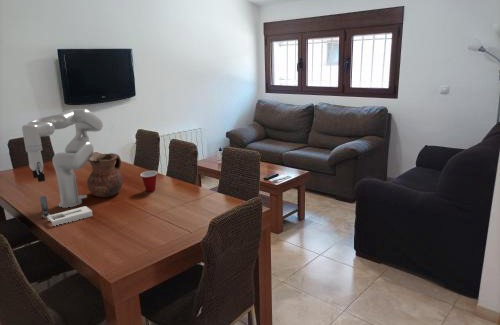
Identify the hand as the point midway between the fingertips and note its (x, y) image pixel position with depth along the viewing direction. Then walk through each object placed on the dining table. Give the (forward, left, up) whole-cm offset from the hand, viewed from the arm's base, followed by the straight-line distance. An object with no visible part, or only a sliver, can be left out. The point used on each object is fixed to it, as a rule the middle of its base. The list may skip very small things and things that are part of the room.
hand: (39, 179), depth 197 cm
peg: (0, 0, -22) cm, 22 cm away
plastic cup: (-62, +1, -22) cm, 66 cm away
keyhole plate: (-9, +12, -22) cm, 26 cm away
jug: (-39, -14, -22) cm, 47 cm away
